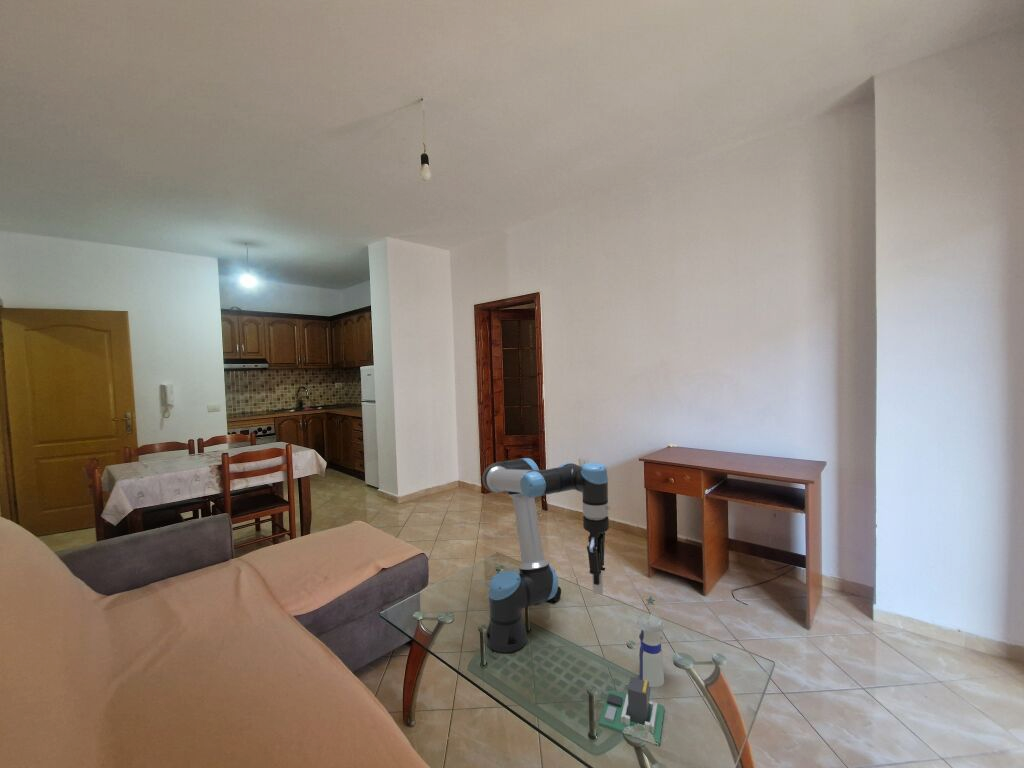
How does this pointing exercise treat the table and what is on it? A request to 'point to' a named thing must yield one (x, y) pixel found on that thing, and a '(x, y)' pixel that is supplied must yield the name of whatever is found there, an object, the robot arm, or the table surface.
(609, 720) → the board
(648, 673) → the water bottle
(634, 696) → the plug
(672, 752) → the table surface
